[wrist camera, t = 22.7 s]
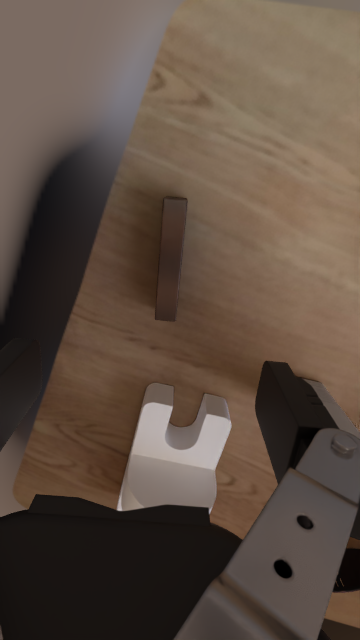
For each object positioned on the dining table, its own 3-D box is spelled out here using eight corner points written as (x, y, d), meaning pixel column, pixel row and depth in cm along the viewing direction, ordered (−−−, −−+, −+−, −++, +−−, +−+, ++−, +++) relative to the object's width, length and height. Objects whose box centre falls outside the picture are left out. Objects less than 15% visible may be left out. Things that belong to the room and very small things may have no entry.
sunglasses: (290, 558, 49) (302, 595, 44) (290, 489, 46) (302, 519, 41) (364, 555, 48) (384, 591, 43) (369, 484, 45) (390, 515, 40)
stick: (165, 196, 31) (163, 197, 28) (187, 198, 31) (187, 199, 28) (156, 309, 35) (154, 320, 32) (176, 311, 35) (175, 321, 32)
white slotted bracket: (119, 494, 44) (100, 584, 34) (148, 380, 38) (135, 451, 28) (189, 507, 45) (191, 599, 35) (229, 398, 39) (246, 473, 29)
